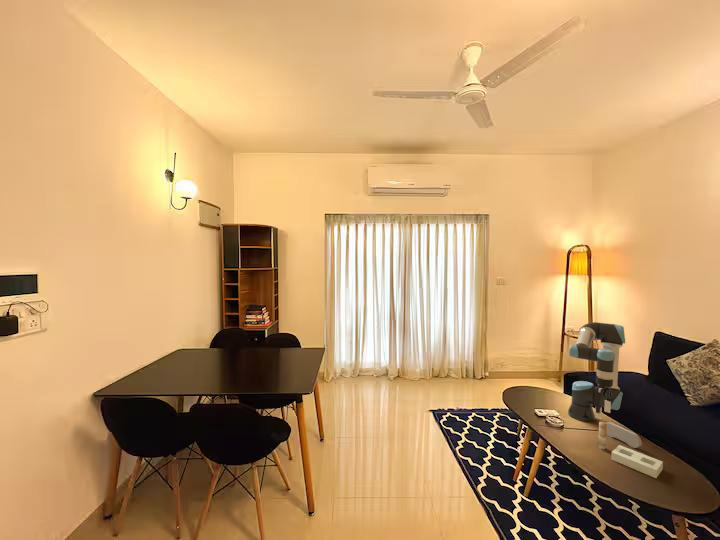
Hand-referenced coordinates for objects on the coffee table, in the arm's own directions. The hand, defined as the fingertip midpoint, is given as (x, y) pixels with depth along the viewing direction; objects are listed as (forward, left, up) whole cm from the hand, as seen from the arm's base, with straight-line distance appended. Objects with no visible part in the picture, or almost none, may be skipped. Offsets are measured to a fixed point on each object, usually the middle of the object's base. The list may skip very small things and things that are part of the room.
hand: (602, 415), depth 184 cm
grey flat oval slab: (-18, +4, -19) cm, 27 cm away
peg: (0, 0, -19) cm, 19 cm away
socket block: (+3, +16, -19) cm, 25 cm away
